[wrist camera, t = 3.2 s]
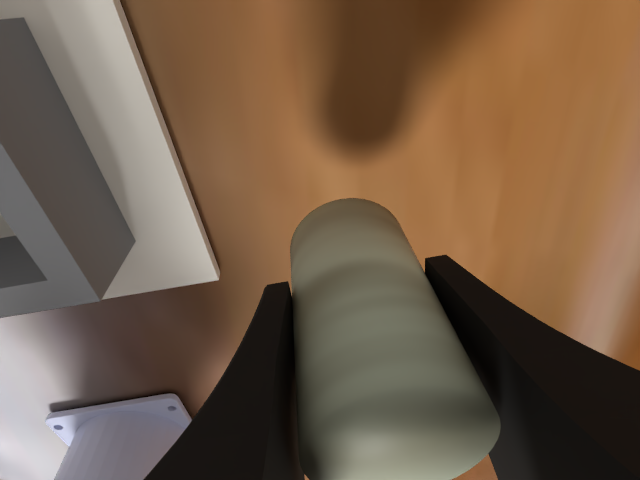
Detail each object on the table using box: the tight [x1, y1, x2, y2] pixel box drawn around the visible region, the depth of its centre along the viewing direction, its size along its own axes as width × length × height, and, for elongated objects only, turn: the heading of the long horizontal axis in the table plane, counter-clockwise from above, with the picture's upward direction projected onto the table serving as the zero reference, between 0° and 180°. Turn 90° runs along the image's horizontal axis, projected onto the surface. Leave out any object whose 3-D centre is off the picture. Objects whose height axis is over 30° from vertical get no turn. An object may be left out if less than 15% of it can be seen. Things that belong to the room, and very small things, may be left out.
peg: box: [290, 198, 501, 480], centre depth 10 cm, size 4×4×7 cm
